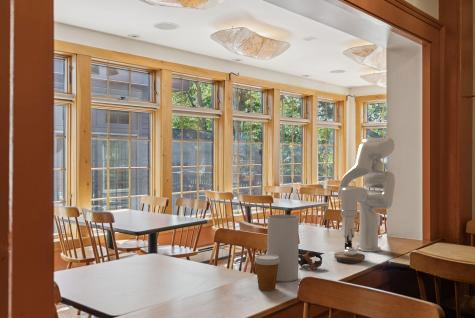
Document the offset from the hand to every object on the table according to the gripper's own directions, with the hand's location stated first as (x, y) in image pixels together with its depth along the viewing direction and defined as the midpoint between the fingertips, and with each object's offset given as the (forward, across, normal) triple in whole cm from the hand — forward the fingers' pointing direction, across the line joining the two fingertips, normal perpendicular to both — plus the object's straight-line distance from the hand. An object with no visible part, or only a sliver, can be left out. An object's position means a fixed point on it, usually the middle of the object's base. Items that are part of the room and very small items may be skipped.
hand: (348, 251), depth 223 cm
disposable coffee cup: (+4, +54, -38) cm, 66 cm away
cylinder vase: (+4, +39, -32) cm, 51 cm away
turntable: (+4, +4, 0) cm, 5 cm away
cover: (+1, +5, 0) cm, 5 cm away
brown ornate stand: (+4, +20, -20) cm, 29 cm away
